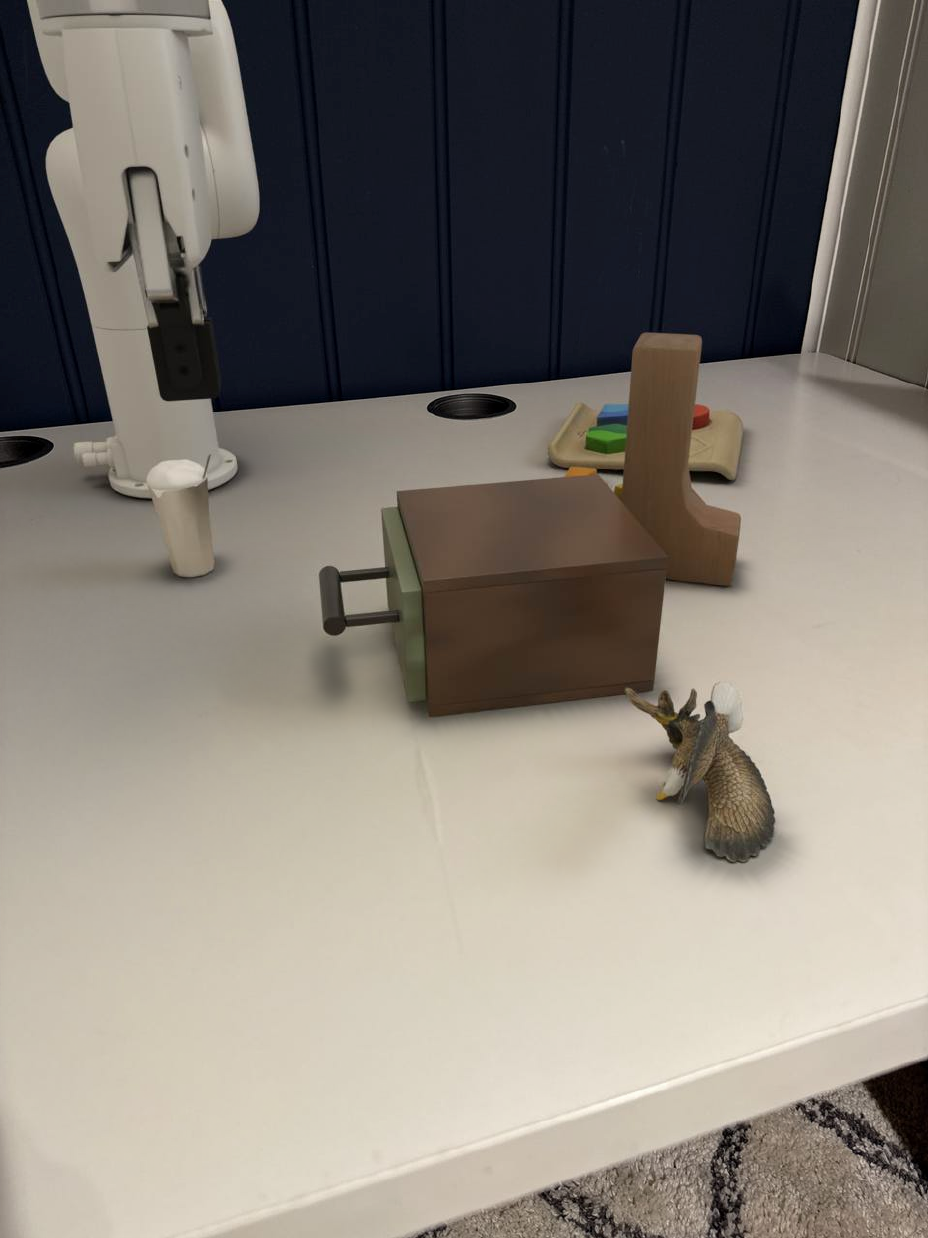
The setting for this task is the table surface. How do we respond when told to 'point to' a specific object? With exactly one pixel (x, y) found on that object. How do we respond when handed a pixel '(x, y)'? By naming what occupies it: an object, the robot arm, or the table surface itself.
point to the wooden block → (673, 463)
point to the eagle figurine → (715, 770)
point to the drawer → (400, 598)
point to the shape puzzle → (603, 440)
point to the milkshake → (183, 514)
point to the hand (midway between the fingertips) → (192, 394)
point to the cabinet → (533, 592)
